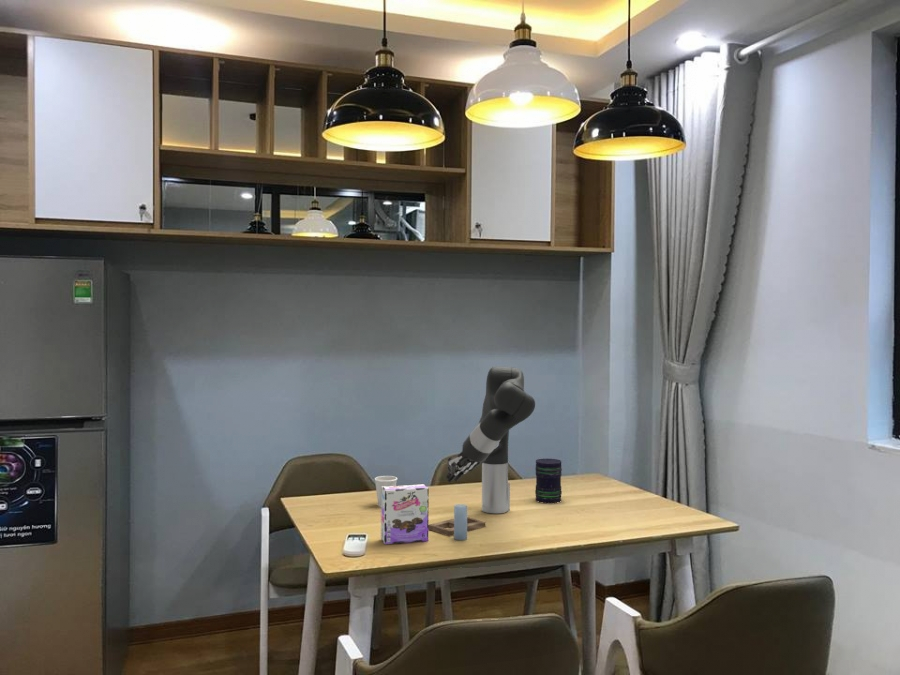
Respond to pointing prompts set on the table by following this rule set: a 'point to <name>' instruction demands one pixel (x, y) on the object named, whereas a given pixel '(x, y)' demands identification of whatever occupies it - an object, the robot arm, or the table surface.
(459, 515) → the blue pin
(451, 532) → the socket board
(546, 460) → the storage jar
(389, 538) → the candy box
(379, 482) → the dixie cup
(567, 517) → the table surface
